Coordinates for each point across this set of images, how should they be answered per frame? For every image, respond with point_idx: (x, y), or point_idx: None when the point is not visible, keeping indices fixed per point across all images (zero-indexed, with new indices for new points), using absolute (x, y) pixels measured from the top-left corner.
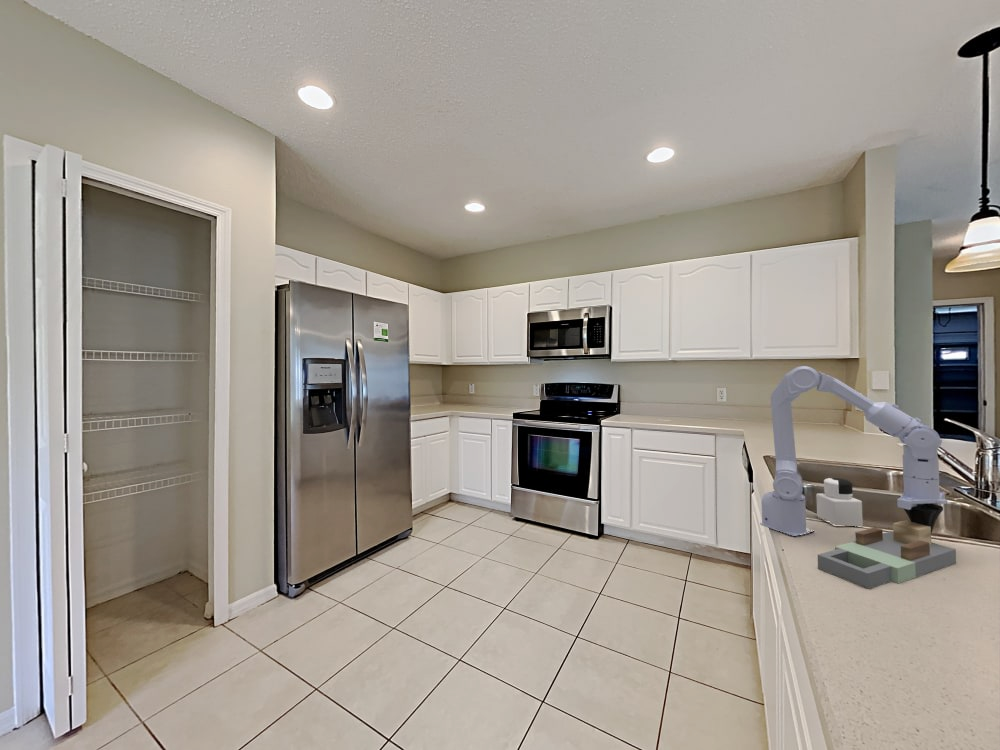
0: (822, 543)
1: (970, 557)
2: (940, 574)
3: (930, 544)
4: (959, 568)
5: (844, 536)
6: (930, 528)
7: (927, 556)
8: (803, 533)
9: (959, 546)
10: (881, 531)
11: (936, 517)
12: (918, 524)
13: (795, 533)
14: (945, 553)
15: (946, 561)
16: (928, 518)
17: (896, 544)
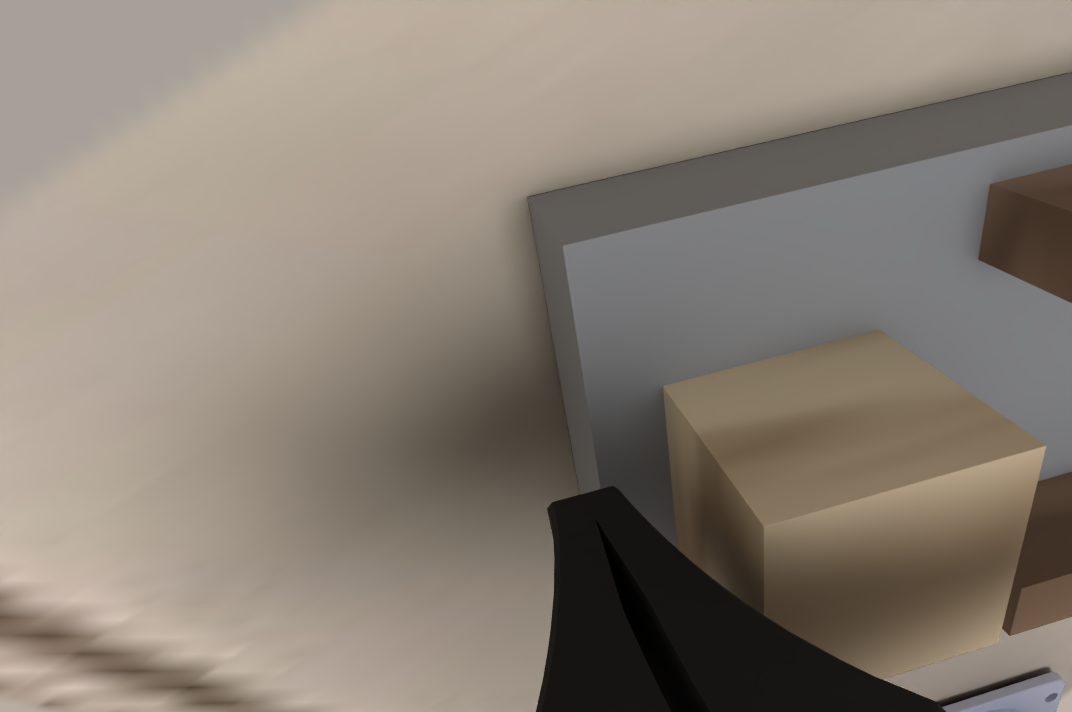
0: None
1: (214, 279)
2: (941, 40)
3: (683, 383)
4: (632, 99)
5: None
6: (760, 507)
7: (1060, 154)
8: (989, 702)
9: (29, 498)
10: (1023, 570)
11: (573, 700)
12: (794, 603)
13: (1030, 701)
14: (775, 192)
15: (724, 168)
16: (815, 646)
17: None
